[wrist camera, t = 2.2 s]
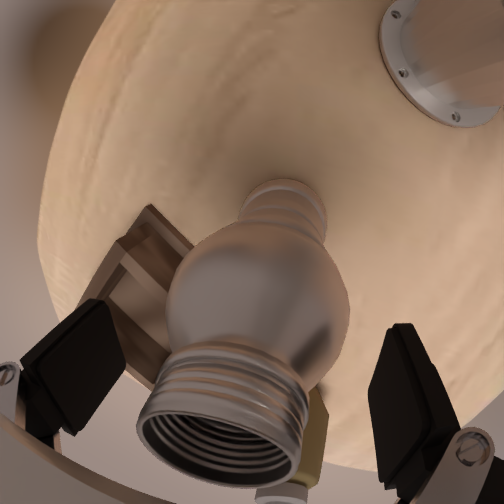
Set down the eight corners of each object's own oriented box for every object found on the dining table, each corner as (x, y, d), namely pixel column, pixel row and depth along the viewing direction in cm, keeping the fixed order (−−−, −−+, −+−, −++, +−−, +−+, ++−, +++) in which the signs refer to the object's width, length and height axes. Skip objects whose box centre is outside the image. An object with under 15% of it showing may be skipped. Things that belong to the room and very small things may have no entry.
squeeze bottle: (248, 397, 32) (210, 529, 15) (285, 361, 29) (258, 523, 12) (301, 420, 32) (285, 544, 16) (342, 389, 29) (344, 534, 13)
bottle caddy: (93, 289, 30) (62, 314, 25) (150, 204, 25) (112, 222, 19) (178, 368, 32) (159, 403, 26) (260, 309, 27) (247, 350, 21)
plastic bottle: (239, 245, 25) (111, 460, 6) (253, 166, 22) (45, 286, 4) (313, 262, 24) (308, 514, 6) (333, 184, 21) (446, 386, 3)
